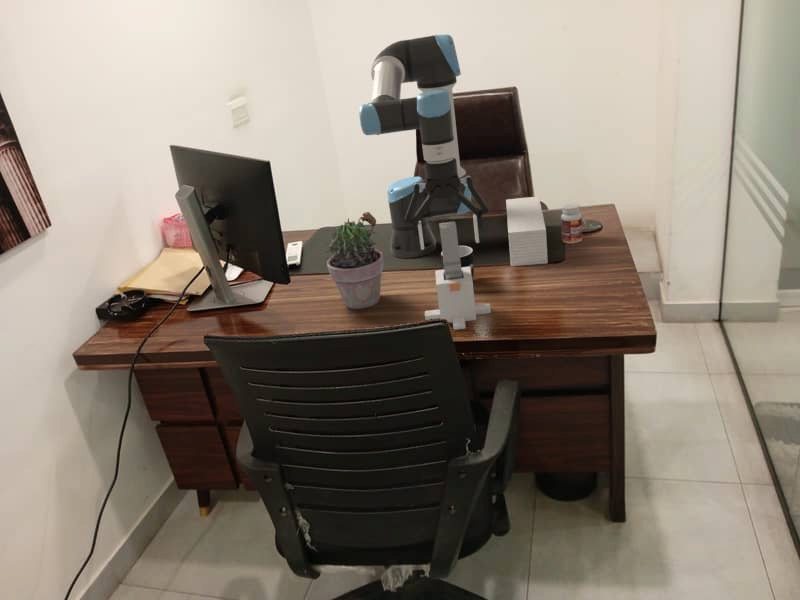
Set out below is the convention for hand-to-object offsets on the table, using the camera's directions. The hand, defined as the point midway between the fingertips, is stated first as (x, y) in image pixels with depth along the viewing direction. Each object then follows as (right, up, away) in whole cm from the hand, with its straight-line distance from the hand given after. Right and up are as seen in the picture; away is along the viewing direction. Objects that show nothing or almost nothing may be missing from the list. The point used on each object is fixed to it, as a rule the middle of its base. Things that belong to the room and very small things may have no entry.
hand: (449, 244), depth 166 cm
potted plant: (-24, -15, +23) cm, 36 cm away
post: (+3, -17, +8) cm, 19 cm away
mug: (+5, -9, +26) cm, 28 cm away
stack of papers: (+28, +3, +45) cm, 53 cm away
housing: (+3, -17, +8) cm, 19 cm away
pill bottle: (+41, +5, +43) cm, 60 cm away
